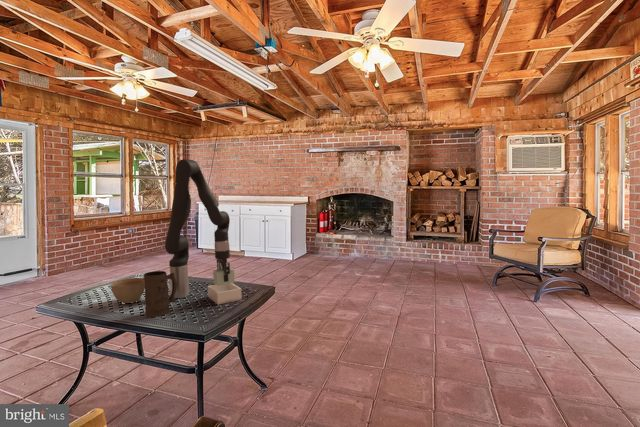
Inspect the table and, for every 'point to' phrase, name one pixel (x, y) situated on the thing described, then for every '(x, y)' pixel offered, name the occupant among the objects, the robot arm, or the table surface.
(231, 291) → the big crate
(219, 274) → the small crate
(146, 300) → the beer stein
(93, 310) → the table surface
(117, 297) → the planter bowl
